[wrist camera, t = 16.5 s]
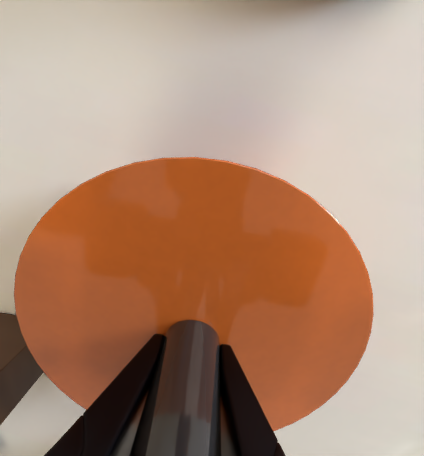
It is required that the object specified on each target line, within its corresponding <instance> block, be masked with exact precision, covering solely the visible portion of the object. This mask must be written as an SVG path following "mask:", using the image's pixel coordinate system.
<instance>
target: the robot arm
mask: <svg viewBox="0 0 424 456" xmlns="http://www.w3.org/2000/svg"><path fill="white" fill-rule="evenodd" d="M163 340H164V335H162V334H154V335H153V336H152V337H151V338H150V339H149V341H148V342H147V343H146V344H145V345H144V346H143V347H142V348H141V350H140V351H139V352H138V353H137V354H136V355H135V356H134V357H133V359H132V360H131V361H130V362H129V363H128V364H127V365H126V366H125V367H124V369H123V370H122V371H121V372H120V373H119V374H118V375H117V376H116V378H115V379H114V380H113V381H112V382H111V383H110V384H109V385H108V386H107V388H106V389H105V390H104V391H103V392H102V393H101V394H100V395H99V397H98V398H97V399H96V400H95V401H94V402H93V403H92V404H91V406H90V407H89V408H88V409H87V410H86V411H85V412H84V414H83V416H81V417H80V418H79V419H78V420H77V421H76V422H75V423H74V424H73V426H72V427H71V428H70V429H69V430H68V431H67V432H66V433H65V434H64V435H63V436H62V437H61V439H60V440H59V441H58V442H57V443H56V444H55V445H54V446H53V447H52V448H51V449H50V450H49V451H48V452H47V453H46V454H45V455H44V456H129V454H130V451H131V447H132V444H133V441H134V437H135V434H136V431H137V427H138V424H139V420H140V417H141V414H142V410H143V407H144V403H145V400H146V397H147V393H148V390H149V386H150V383H151V380H152V377H153V374H154V371H155V367H156V364H157V361H158V357H159V354H160V350H161V347H162V343H163ZM220 394H221V456H285V454H284V452H283V450H282V448H281V446H280V444H279V443H277V442H278V440H277V438H276V436H275V434H274V432H273V430H272V428H271V426H270V424H269V422H268V420H267V418H266V416H265V414H264V412H263V410H262V408H261V406H260V404H259V402H258V400H257V398H256V396H255V394H254V392H253V390H252V388H251V386H250V384H249V382H248V380H247V378H246V376H245V374H244V372H243V370H242V368H241V366H240V364H239V362H238V360H237V358H236V356H235V354H234V352H233V350H232V348H231V346H230V345H227V344H221V345H220Z"/></svg>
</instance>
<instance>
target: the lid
mask: <svg viewBox="0 0 424 456" xmlns="http://www.w3.org/2000/svg"><path fill="white" fill-rule="evenodd" d="M14 299H15V309H16V315H17V319H18V323H19V327H20V331H21V333H22V335H23V338H24V340H25V342H26V345H27V347H28V349H29V351H30V352H31V354H32V356H33V357H34V359H35V361H36V362H37V364H38V365H39V366H40V368H41V369H42V370H43V372H44V373H45V374H46V375H47V377H48V378H49V379H50V380H51V381H52V382H53V383H54V384H55V385H56V386H57V387H58V388H59V389H60V390H61V391H62V392H63V393H65V394H66V395H67V396H68V397H69V398H71V399H72V400H73V401H74V402H76V403H77V404H79V405H80V406H82V407H83V408H85V409H86V410H87V409H88V408H89V407H90V406H91V404H92V403H93V402H94V401H95V400H96V399H97V398H98V397H99V395H100V394H101V393H102V392H103V391H104V390H105V389H106V388H107V386H108V385H109V384H110V383H111V382H112V381H113V380H114V379H115V378H116V376H117V375H118V374H119V373H120V372H121V371H122V370H123V369H124V367H125V366H126V365H127V364H128V363H129V362H130V361H131V360H132V359H133V357H134V356H135V355H136V354H137V353H138V352H139V351H140V350H141V348H142V347H143V346H144V345H145V344H146V343H147V342H148V341H149V339H150V338H151V337H152V336H153V335H154V334H162V335H164V340H163V343H162V347H161V350H160V354H159V357H158V361H157V364H156V367H155V371H154V374H153V377H152V380H151V383H150V386H149V390H148V393H147V397H146V400H145V403H144V407H143V410H142V414H141V417H140V420H139V424H138V427H137V431H136V434H135V437H134V441H133V444H132V447H131V451H130V454H129V456H221V394H220V345H221V344H227V345H230V346H231V348H232V350H233V352H234V354H235V356H236V358H237V360H238V362H239V364H240V366H241V368H242V370H243V372H244V374H245V376H246V378H247V380H248V382H249V384H250V386H251V388H252V390H253V392H254V394H255V396H256V398H257V400H258V402H259V404H260V406H261V408H262V410H263V412H264V414H265V416H266V418H267V420H268V422H269V424H270V426H271V428H272V430H273V431H275V430H278V429H280V428H283V427H285V426H288V425H290V424H292V423H294V422H296V421H298V420H300V419H302V418H303V417H305V416H307V415H309V414H310V413H312V412H313V411H315V410H316V409H318V408H319V407H320V406H322V405H323V404H324V403H326V402H327V401H328V400H329V399H330V398H331V397H332V396H334V395H335V394H336V393H337V392H338V391H339V389H340V388H341V387H342V386H343V385H344V384H345V383H346V382H347V381H348V379H349V378H350V376H351V375H352V373H353V372H354V370H355V369H356V367H357V366H358V364H359V362H360V360H361V358H362V356H363V354H364V352H365V350H366V346H367V343H368V340H369V337H370V334H371V328H372V320H373V293H372V288H371V284H370V279H369V274H368V271H367V269H366V266H365V264H364V262H363V259H362V257H361V254H360V252H359V250H358V249H357V247H356V245H355V244H354V242H353V241H352V239H351V237H350V236H349V234H348V233H347V231H346V230H345V229H344V228H343V227H342V225H341V224H340V223H339V222H338V221H337V220H336V219H335V218H334V216H333V215H332V214H331V213H330V212H329V211H328V210H326V209H325V208H324V207H323V206H322V205H320V204H319V203H318V202H317V201H316V200H314V199H313V198H312V197H311V196H309V195H308V194H306V193H305V192H303V191H301V190H300V189H298V188H296V187H295V186H293V185H291V184H290V183H288V182H286V181H285V180H282V179H280V178H278V177H275V176H273V175H271V174H268V173H266V172H263V171H261V170H259V169H256V168H252V167H248V166H245V165H241V164H237V163H233V162H229V161H225V160H216V159H208V158H199V157H176V158H159V159H153V160H147V161H141V162H135V163H131V164H128V165H125V166H122V167H119V168H116V169H113V170H109V171H106V172H104V173H102V174H100V175H98V176H96V177H94V178H92V179H90V180H88V181H86V182H84V183H82V184H80V185H79V186H78V187H76V188H75V189H73V190H72V191H71V192H69V193H68V194H66V195H65V196H64V197H62V198H61V199H60V200H59V201H58V202H57V203H56V204H55V205H54V206H53V207H52V208H51V209H50V210H49V211H48V212H47V213H46V214H45V215H44V216H43V217H42V218H41V220H40V221H39V222H38V224H37V225H36V227H35V228H34V230H33V231H32V232H31V234H30V235H29V237H28V240H27V242H26V244H25V246H24V248H23V251H22V253H21V255H20V259H19V263H18V267H17V271H16V275H15V288H14Z"/></svg>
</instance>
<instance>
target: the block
mask: <svg viewBox="0 0 424 456" xmlns="http://www.w3.org/2000/svg"><path fill="white" fill-rule="evenodd" d="M42 373H43V370H42V369H41V368H40V366H39V365H38V364H37V362H36V361H35V359H34V357H33V356H32V354H31V352H30V351H29V349H28V347H27V345H26V342H25V340H24V338H23V335H22V333H21V331H20V327H19V323H18V319H17V315H12V314H5V313H0V425H1V424H2V422H3V421H4V420H5V419H6V418H7V416H8V415H9V414H10V413H11V411H12V410H13V409H14V408H15V406H16V405H17V404H18V403H19V401H20V400H21V399H22V398H23V397H24V395H25V394H26V393H27V392H28V390H29V389H30V388H31V387H32V385H33V384H34V383H35V382H36V381H37V379H38V378H39V377H40V376H41V374H42Z"/></svg>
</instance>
